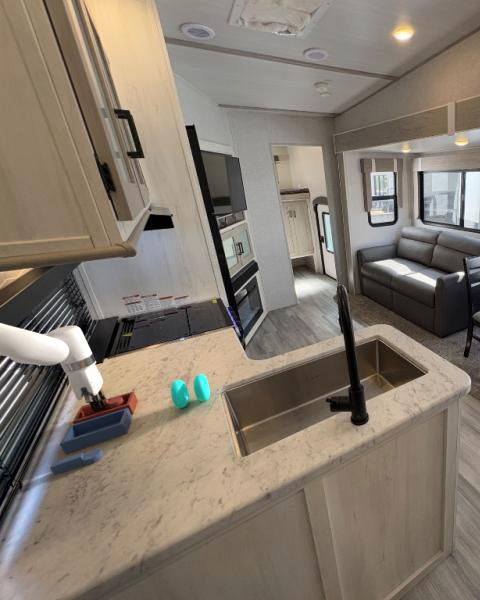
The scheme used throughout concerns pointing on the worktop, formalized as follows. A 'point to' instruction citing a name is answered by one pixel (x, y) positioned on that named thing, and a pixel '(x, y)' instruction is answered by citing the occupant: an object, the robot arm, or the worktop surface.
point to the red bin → (128, 403)
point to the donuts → (181, 391)
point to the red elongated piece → (109, 404)
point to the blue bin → (96, 430)
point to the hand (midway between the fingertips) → (101, 408)
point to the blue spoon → (76, 461)
